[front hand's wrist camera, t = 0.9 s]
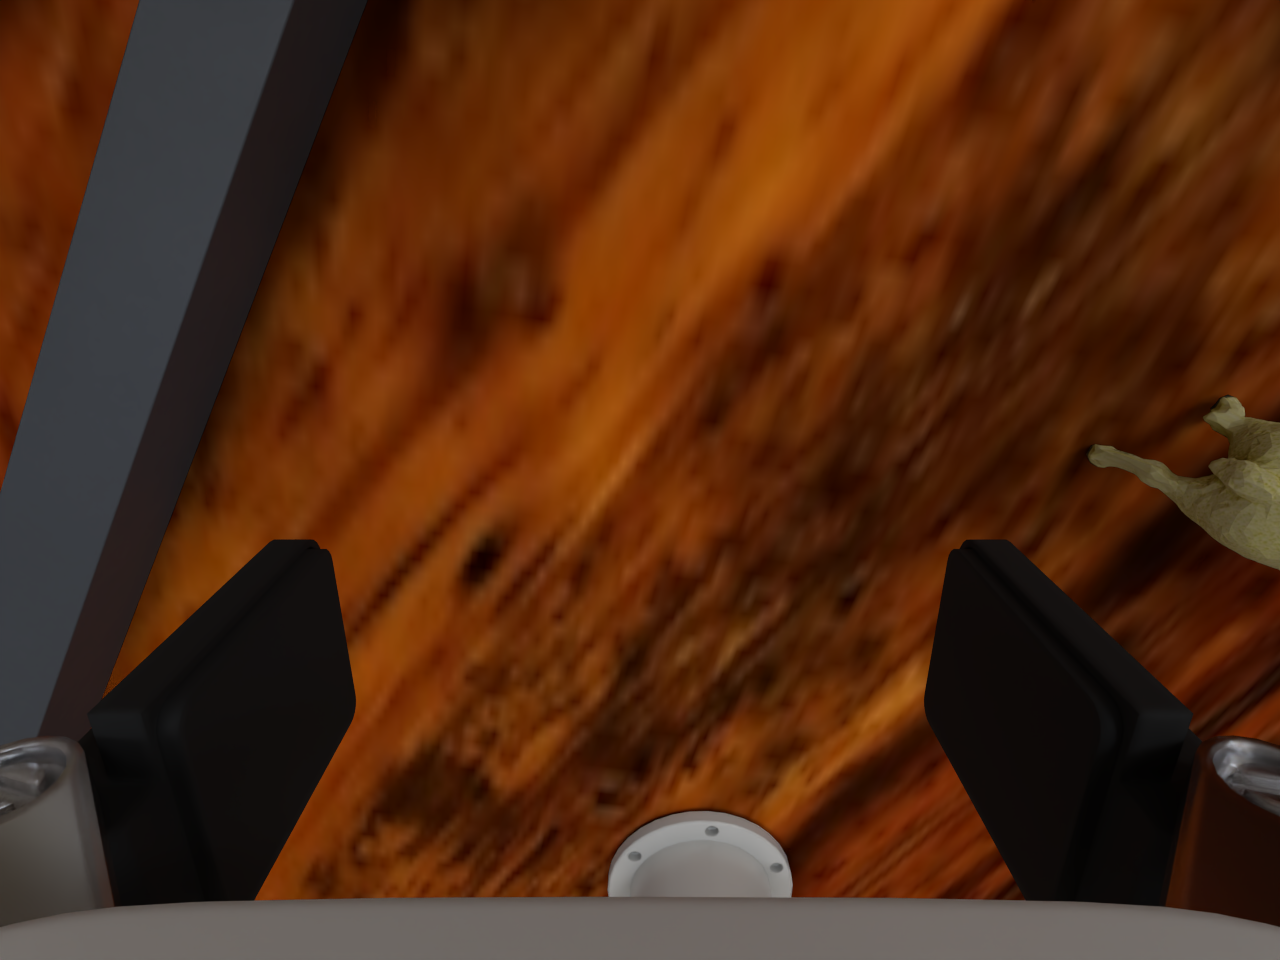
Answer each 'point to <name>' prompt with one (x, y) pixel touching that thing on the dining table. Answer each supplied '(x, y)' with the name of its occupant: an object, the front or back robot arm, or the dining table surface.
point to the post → (149, 325)
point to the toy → (1224, 483)
